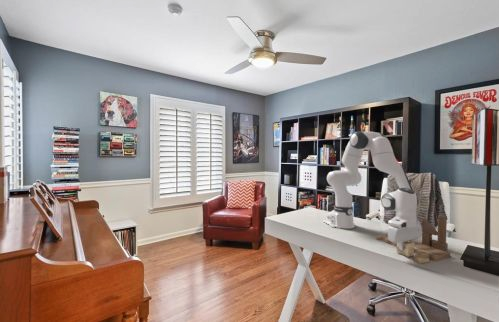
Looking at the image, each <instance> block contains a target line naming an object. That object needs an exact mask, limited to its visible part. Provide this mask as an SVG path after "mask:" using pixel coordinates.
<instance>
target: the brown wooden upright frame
mask: <svg viewBox="0 0 499 322" xmlns="http://www.w3.org/2000/svg"><path fill="white" fill-rule="evenodd" d="M447 218H448V217H447V215H444V214H438V216H437V230H436V229H435V227H434V226H433V225H432V224H431V222H429V221H428V220H427V218H422V220H421V221H422V222H421V227H422V237H421V244H424V245H427V246H430V247H433V248H436V249H439V250H442V251H445V252H447V250H448V246H449V245H448V242H447V227H448V226H447V225H448V224H447V223H448V222H447V220H448V219H447ZM433 236H437V240H436V239H433Z"/></svg>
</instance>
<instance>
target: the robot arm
mask: <svg viewBox="0 0 499 322" xmlns="http://www.w3.org/2000/svg"><path fill="white" fill-rule="evenodd" d="M368 150H369V151H370V154H371V159H372V164H373V166H374V167H375V168H376V169H377V170H378V171H379V172H383V173H386V174H388V175H390V176H391V177H393V178H394V179H395V182H396V184H397V186H398V189H397V190H394V191H390V192H386V193H384V194H382V197H381V199H380V200H381V201H380V202H381V203H380V204H381V207H382V208H384V210H386V211H389V212H390V211H391V212H392V211H393V212H395V216H394V217H392V218H391V219H389V220H388V221H387V224H388V225H389V226H388V228H387V234H388V239H389V241H391V242H394V243H398V245H399V249H400V250H404V246H403V244H402V243H403V241H408V242H411V243H413V242H414V241H415V240H417V239H422V224H421V221H420V220H419V219H418V218H417V217H418V216H417V208H418V206H419V202H420V201H419V198H418V196H417V193H416V191H415V190H414V189H413V187H412V184H411V182H410V180H409V178H408V175H407V173H406V171H405V168H404V167H403V166H402V164H400V163H399V162H398V160H397V159H396V156H395V153H394V150H393V147H392V145H391V142H390V140H389V138H387V136H386V135H385V134H383V133H382V132H375V131H360V130H359V131H355V132H353V133H352V134H351V135H350V138H349V141H348V143H347V145H346V146H345V150H344V151H343V154H342V157H341V164H342V165H343V166H344V169H343V170H342V169H341V170H333V171H329V172H328V173H327V175H326V181H327V183H328V185H329V186H331V188H332V189H333V191H334V195H335V196H334V198H335V199H334V200H335V204H334V205H332V208H333V210H331V211H329V212H328V213H327V215H326V218H325V219H324V220H323V221H322V222H323V223H324V222H325V223H324V224H326V223H327V225H328V224H329V225H328V226H330V227H332V228H335V227H336V228H337V229H338V228H339V229H354V228H355V222H354V221H355V220H354V214H353V212H354V206H353V194H352V193H351V192H350V191H348V186H349V187H351V186H356V185H359V184H360V183H361V181H362V174H361V172H360V171H359V165H360V162H361V161H362V156H363V154H364V152H365V151H368Z"/></svg>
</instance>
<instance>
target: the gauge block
mask: <svg viewBox="0 0 499 322" xmlns="http://www.w3.org/2000/svg"><path fill="white" fill-rule="evenodd" d="M402 244H403V246H404V250H400V249H399V245H398V243H397V247H396V253H397V254H399V255H403V256H406V257H409V258H410V257H414V243H411V242H408V241H403V243H402Z"/></svg>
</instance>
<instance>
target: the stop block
mask: <svg viewBox="0 0 499 322" xmlns="http://www.w3.org/2000/svg"><path fill="white" fill-rule="evenodd" d="M413 259H414V260H413V261H414V262H416V263H418V264H420V265H421V264H425V263H430V259H429V253H428V252H425V251H419V252H415V253H414V256H413Z"/></svg>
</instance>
